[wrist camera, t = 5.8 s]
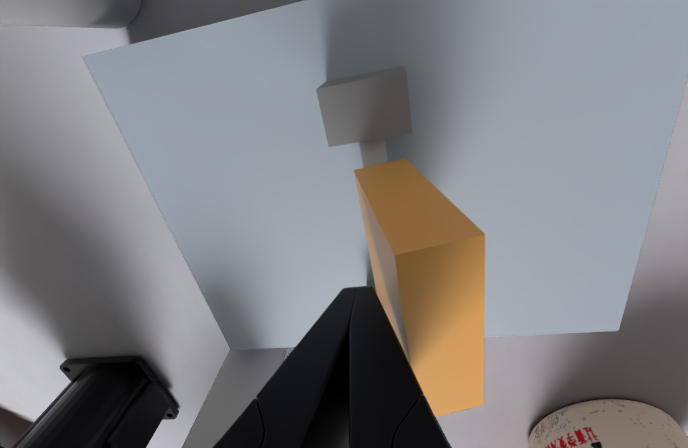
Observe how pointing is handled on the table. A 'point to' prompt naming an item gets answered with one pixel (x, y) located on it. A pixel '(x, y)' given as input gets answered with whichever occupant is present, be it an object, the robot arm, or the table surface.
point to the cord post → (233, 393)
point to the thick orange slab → (428, 280)
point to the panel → (406, 147)
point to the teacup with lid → (608, 427)
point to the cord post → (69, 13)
